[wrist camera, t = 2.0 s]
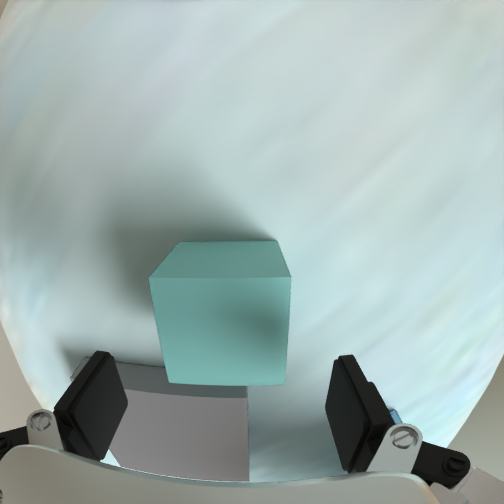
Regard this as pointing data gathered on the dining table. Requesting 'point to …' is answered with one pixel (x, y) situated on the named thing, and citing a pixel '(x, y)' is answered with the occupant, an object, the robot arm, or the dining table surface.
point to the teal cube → (223, 312)
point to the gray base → (181, 426)
